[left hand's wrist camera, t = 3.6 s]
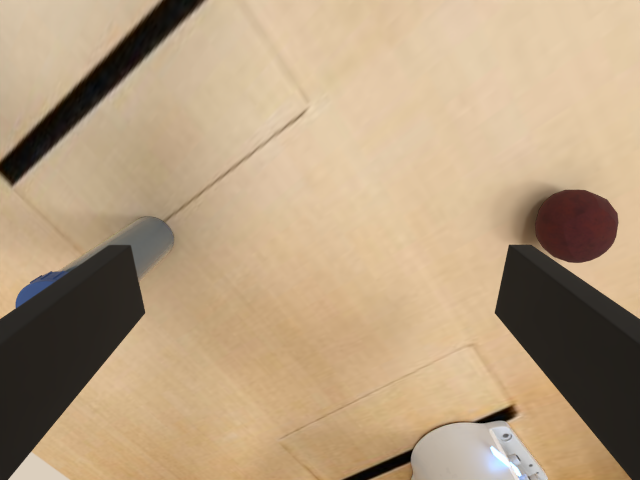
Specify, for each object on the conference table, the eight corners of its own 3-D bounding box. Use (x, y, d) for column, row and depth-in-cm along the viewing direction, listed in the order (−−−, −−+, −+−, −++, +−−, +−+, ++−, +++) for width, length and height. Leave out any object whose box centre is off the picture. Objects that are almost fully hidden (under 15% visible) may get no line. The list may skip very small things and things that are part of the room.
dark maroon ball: (536, 257, 43) (575, 285, 36) (511, 205, 40) (548, 225, 34) (596, 224, 41) (649, 248, 35) (574, 169, 39) (626, 183, 32)
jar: (176, 222, 41) (95, 291, 26) (171, 261, 43) (93, 346, 28) (131, 211, 41) (23, 275, 26) (128, 251, 43) (25, 332, 28)
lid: (110, 280, 27) (97, 291, 26) (106, 341, 30) (94, 354, 28) (30, 262, 27) (12, 272, 25) (32, 326, 29) (16, 338, 27)
